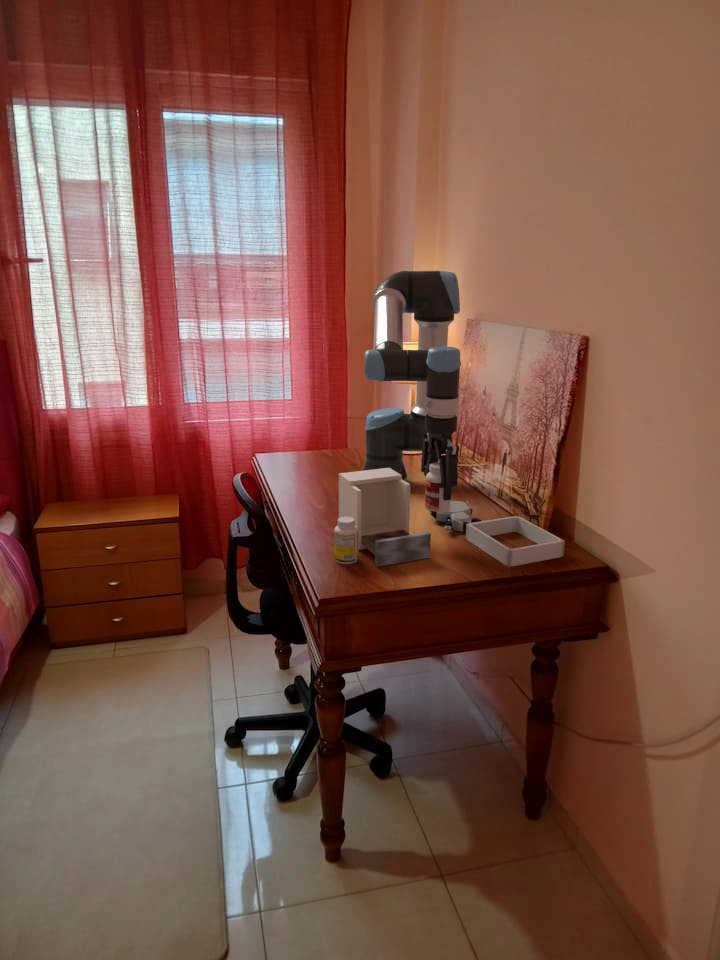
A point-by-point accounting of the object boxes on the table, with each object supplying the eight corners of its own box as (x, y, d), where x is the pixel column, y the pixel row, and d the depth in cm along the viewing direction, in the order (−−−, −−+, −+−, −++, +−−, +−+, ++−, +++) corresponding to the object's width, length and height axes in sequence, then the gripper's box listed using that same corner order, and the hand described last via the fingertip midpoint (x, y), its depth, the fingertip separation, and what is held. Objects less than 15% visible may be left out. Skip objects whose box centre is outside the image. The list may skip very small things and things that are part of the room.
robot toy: (487, 535, 177) (465, 512, 191) (489, 520, 176) (466, 497, 189) (443, 540, 174) (423, 516, 188) (444, 524, 173) (424, 501, 186)
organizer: (516, 530, 179) (517, 515, 177) (563, 556, 162) (564, 541, 161) (465, 538, 173) (466, 523, 171) (508, 567, 156) (509, 550, 155)
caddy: (388, 525, 181) (389, 467, 176) (408, 541, 171) (410, 480, 166) (339, 532, 176) (338, 473, 171) (357, 550, 165) (357, 487, 161)
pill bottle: (419, 508, 167) (420, 465, 163) (434, 501, 171) (435, 459, 168) (440, 514, 163) (442, 470, 159) (455, 507, 167) (457, 464, 164)
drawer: (407, 539, 171) (407, 517, 169) (429, 557, 160) (430, 533, 159) (357, 547, 166) (357, 524, 164) (377, 566, 155) (377, 542, 154)
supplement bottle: (345, 553, 163) (345, 513, 160) (363, 559, 160) (363, 519, 157) (329, 560, 159) (329, 519, 156) (347, 567, 156) (347, 525, 153)
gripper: (408, 407, 166) (405, 496, 174) (448, 425, 150) (443, 522, 157) (435, 404, 169) (431, 492, 177) (477, 422, 152) (471, 518, 160)
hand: (437, 506), depth 167 cm, fingers closed on pill bottle, 6 cm apart
